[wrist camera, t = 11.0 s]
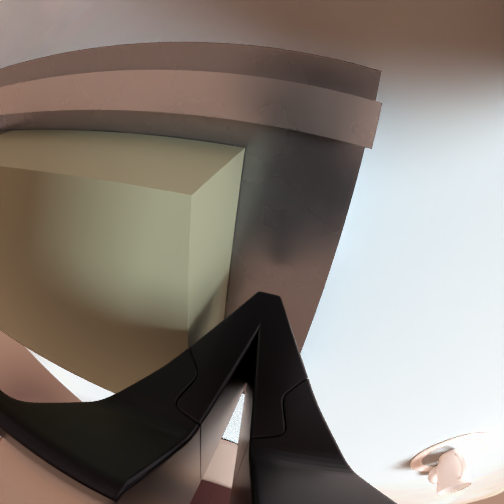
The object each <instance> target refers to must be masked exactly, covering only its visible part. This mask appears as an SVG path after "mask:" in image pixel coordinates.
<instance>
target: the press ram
mask: <svg viewBox="0 0 504 504" xmlns="http://www.w3.org/2000/svg"><path fill="white" fill-rule="evenodd" d="M244 152H245V148H242V147H237V146H230V145H224V144H217V143H211V142H204V141H196V140H189V139H181V138H172V137H163V136H153V135H143V134H131V133H118V132H102V131H80V130H8V131H0V331H2V332H4V333H5V334H7V335H8V336H10V337H11V338H13V339H14V340H16V341H17V342H19V343H20V344H22V345H24V346H25V347H27V348H28V349H30V350H32V351H33V352H35V353H37V354H38V355H40V356H42V357H44V358H45V359H47V360H49V361H51V362H53V363H54V364H56V365H58V366H60V367H62V368H64V369H65V370H67V371H69V372H71V373H73V374H75V375H77V376H79V377H81V378H83V379H85V380H87V381H89V382H91V383H93V384H96V385H98V386H100V387H102V388H104V389H106V390H109V391H111V392H113V393H118V392H120V391H122V390H123V389H125V388H127V387H129V386H131V385H132V384H134V383H136V382H138V381H139V380H141V379H143V378H145V377H146V376H148V375H150V374H152V373H153V372H155V371H156V370H158V369H160V368H161V367H163V366H165V365H166V364H167V363H169V362H170V361H172V360H173V359H174V358H176V357H177V356H179V355H180V354H181V353H182V352H184V351H185V350H186V349H189V347H190V346H191V345H193V344H194V343H195V342H196V341H198V340H199V339H200V338H201V337H203V336H204V335H205V334H207V333H208V332H209V331H210V330H212V329H213V328H214V327H215V326H217V325H218V324H219V323H220V322H221V321H223V320H224V314H225V305H226V296H227V287H228V279H229V270H230V262H231V253H232V245H233V237H234V229H235V221H236V213H237V205H238V197H239V189H240V182H241V174H242V167H243V159H244Z"/></svg>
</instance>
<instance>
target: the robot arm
mask: <svg viewBox="0 0 504 504" xmlns="http://www.w3.org/2000/svg"><path fill="white" fill-rule="evenodd" d="M307 378H308V376H307V373H306V370H305V367H304V364H303V361H302V358H301V355H300V352H299V349H298V346H297V343H296V340H295V337H294V334H293V331H292V328H291V326H290V323H289V320H288V317H287V314H286V311H285V308H284V305H283V302H282V299H281V297H280V296H278V295H274V294H270V293H265V292H261V291H259V292H257V293H256V294H255V295H253V296H252V297H251V298H250V299H248V300H247V301H246V302H245V303H244V304H242V305H241V306H240V307H239V308H237V309H236V310H235V311H234V312H233V313H231V314H230V315H229V316H228V317H226V318H225V319H224V320H223V321H221V322H220V323H219V324H218V325H217V326H215V327H214V328H213V329H212V330H210V331H209V332H208V333H207V334H205V335H204V336H203V337H201V338H200V339H199V340H198V341H196V342H195V343H194V344H193V345H191V346H190V347H189V349H186V350H185V351H184V352H182V353H181V354H180V355H179V356H177V357H176V358H174V359H173V360H172V361H170V362H169V363H167V364H166V365H165V366H163V367H161V368H160V369H158V370H156V371H155V372H153V373H152V374H150V375H148V376H146V377H145V378H143V379H141V380H139V381H138V382H136V383H134V384H132V385H131V386H129V387H127V388H125V389H123V390H122V391H120V392H118V393H116V394H114V395H112V396H110V397H108V398H105V399H102V400H99V401H94V402H74V403H32V402H24V401H19V400H16V399H14V398H11V397H9V396H8V395H6V394H5V393H3V392H2V391H1V390H0V436H1V439H0V504H190V502H191V500H192V498H193V496H194V494H195V492H196V490H197V488H198V486H199V484H200V481H201V480H202V478H203V476H204V474H205V472H206V470H207V468H208V466H209V463H210V461H211V459H212V457H213V455H214V453H215V451H216V449H217V447H218V444H219V442H220V440H221V438H222V436H223V434H224V432H225V429H226V427H227V425H228V423H229V421H230V418H231V416H232V414H233V412H234V410H235V407H236V405H237V403H238V401H239V398H240V396H241V394H242V392H243V389H244V387H245V385H246V391H245V399H244V406H243V413H242V420H241V427H240V434H239V441H238V448H237V455H236V462H235V469H234V475H233V482H232V490H231V495H230V502H229V504H397V503H395V502H394V501H392V500H391V499H390V498H388V497H387V496H385V495H384V494H383V493H381V492H380V491H378V490H377V489H376V488H374V487H373V486H371V485H370V484H369V483H367V482H366V481H365V480H363V479H362V478H361V477H359V476H358V475H357V474H356V473H355V472H354V471H353V470H352V469H351V468H350V466H349V465H348V464H347V462H346V461H345V459H344V457H343V455H342V453H341V451H340V449H339V447H338V445H337V443H336V441H335V439H334V437H333V435H332V433H331V431H330V429H329V427H328V425H327V423H326V421H325V419H324V417H323V415H322V413H321V411H320V408H319V406H318V404H317V401H316V399H315V396H314V393H313V391H312V388H311V385H310V382H309V379H307ZM246 383H247V384H246Z"/></svg>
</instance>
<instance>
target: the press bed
mask: <svg viewBox="0 0 504 504" xmlns="http://www.w3.org/2000/svg"><path fill="white" fill-rule="evenodd" d="M380 74H381V71H379V70H376V69H372V68H369V67H365V66H361V65H357V64H354V63H350V62H346V61H341V60H337V59H333V58H328V57H323V56H318V55H313V54H308V53H302V52H297V51H290V50H284V49H277V48H269V47H261V46H252V45H241V44H228V43H208V42H157V43H138V44H125V45H115V46H106V47H98V48H91V49H84V50H78V51H72V52H66V53H61V54H56V55H51V56H47V57H42V58H38V59H34V60H30V61H26V62H22V63H19V64H15V65H12V66H8V67H5V68H2V69H0V131H8V130H80V131H102V132H118V133H131V134H143V135H153V136H163V137H172V138H181V139H189V140H196V141H204V142H211V143H217V144H224V145H230V146H237V147H242V148H245V152H244V159H243V167H242V174H241V182H240V189H239V197H238V205H237V213H236V221H235V229H234V237H233V245H232V253H231V262H230V270H229V279H228V287H227V296H226V305H225V314H224V319H225V318H226V317H228V316H229V315H230V314H231V313H233V312H234V311H235V310H236V309H237V308H239V307H240V306H241V305H242V304H244V303H245V302H246V301H247V300H248V299H250V298H251V297H252V296H253V295H255V294H256V293H257V292H259V291H261V292H265V293H270V294H274V295H278V296H280V297H281V299H282V302H283V305H284V308H285V311H286V314H287V317H288V320H289V323H290V326H291V328H292V331H293V334H294V337H295V340H296V343H297V346H298V349H299V352H301V350H302V347H303V345H304V342H305V339H306V337H307V334H308V331H309V329H310V326H311V323H312V320H313V318H314V315H315V312H316V309H317V306H318V303H319V301H320V298H321V295H322V292H323V289H324V286H325V283H326V280H327V277H328V274H329V271H330V268H331V265H332V262H333V259H334V256H335V252H336V249H337V246H338V243H339V239H340V236H341V233H342V230H343V226H344V223H345V219H346V216H347V212H348V209H349V205H350V202H351V198H352V195H353V191H354V187H355V184H356V180H357V176H358V172H359V168H360V165H361V161H362V157H363V153H364V148H365V147H367V148H370V149H372V145H373V141H374V137H375V133H376V128H377V124H378V120H379V115H380V111H381V106H382V103H380V102H376V101H375V100H376V95H377V90H378V85H379V79H380ZM246 384H247V383H246ZM245 391H246V385H245V387H244V389H243V392H242V393H243V394H245Z"/></svg>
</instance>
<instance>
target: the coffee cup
mask: <svg viewBox="0 0 504 504" xmlns="http://www.w3.org/2000/svg"><path fill="white" fill-rule="evenodd" d="M237 448H238V445H237V444H235V443H232V442H229V441H226V440H223V439H221V440H220V442H219V444H218V447H217V449H216V451H215V453H214V455H213V457H212V459H211V461H210V463H209V466H208V468H207V470H206V472H205V474H204V476H203V478H202V480H201V481H200V484H199V486H198V488H197V490H196V492H195V494H194V496H193V498H192V500H191V502H190V504H229V502H230V495H231V490H232V482H233V475H234V469H235V462H236V455H237Z"/></svg>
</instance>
